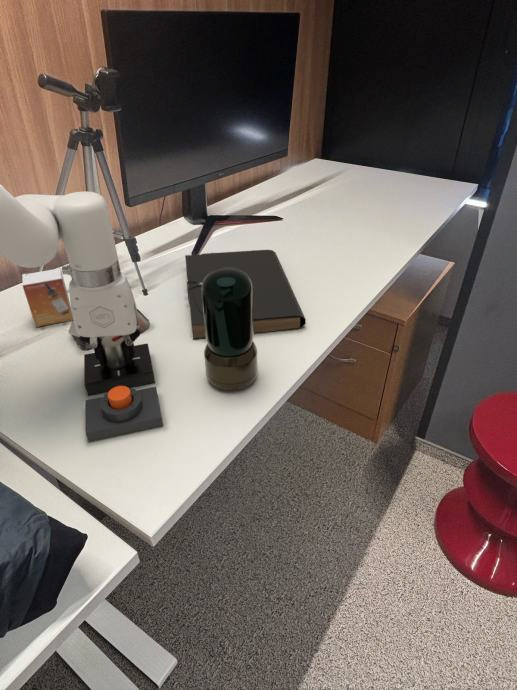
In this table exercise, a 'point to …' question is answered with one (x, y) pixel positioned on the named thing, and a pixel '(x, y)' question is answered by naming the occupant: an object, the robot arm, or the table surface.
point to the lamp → (229, 329)
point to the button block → (122, 415)
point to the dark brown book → (268, 289)
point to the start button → (119, 397)
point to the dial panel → (118, 372)
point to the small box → (47, 297)
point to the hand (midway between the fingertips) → (117, 359)
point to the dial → (114, 351)
